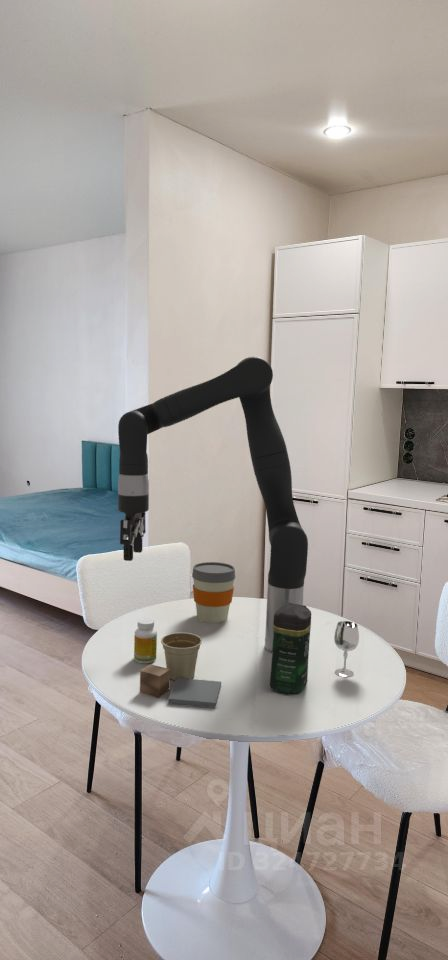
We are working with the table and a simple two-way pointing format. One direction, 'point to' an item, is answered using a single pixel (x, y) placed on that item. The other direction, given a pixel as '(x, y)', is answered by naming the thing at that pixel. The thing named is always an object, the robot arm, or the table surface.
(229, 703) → the table surface
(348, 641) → the wineglass
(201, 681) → the coaster
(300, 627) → the coffee jar
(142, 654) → the supplement bottle
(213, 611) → the reusable coffee cup
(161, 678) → the walnut block
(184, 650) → the flower pot
